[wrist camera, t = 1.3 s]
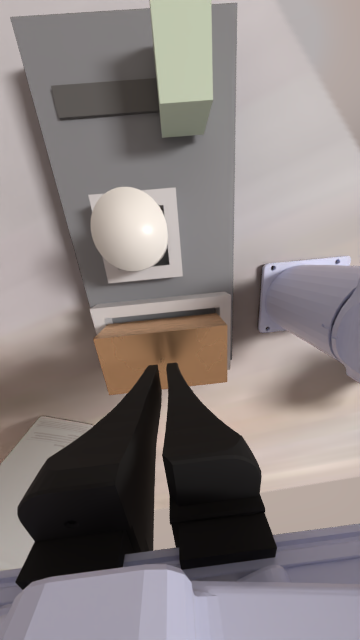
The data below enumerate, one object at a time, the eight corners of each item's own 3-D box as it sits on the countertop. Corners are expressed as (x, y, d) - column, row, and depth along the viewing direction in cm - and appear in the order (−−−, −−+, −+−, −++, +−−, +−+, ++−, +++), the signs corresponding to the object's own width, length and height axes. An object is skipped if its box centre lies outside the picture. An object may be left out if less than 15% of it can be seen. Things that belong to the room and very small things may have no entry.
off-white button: (164, 201, 12) (162, 183, 9) (170, 266, 14) (171, 267, 11) (102, 206, 12) (81, 190, 9) (115, 271, 13) (101, 274, 11)
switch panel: (224, 49, 13) (249, -47, 9) (225, 348, 22) (237, 369, 18) (39, 62, 13) (-22, -31, 9) (115, 360, 21) (102, 384, 17)
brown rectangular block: (216, 312, 15) (227, 325, 12) (217, 361, 17) (227, 382, 14) (107, 324, 15) (93, 339, 12) (119, 372, 16) (109, 395, 14)
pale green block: (200, 29, 11) (210, -49, 8) (203, 134, 12) (213, 99, 10) (152, 32, 10) (145, -45, 8) (162, 137, 12) (159, 103, 9)
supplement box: (39, 414, 24) (-94, 570, 12) (94, 423, 25) (24, 576, 13) (37, 449, 26) (-78, 612, 14) (87, 457, 27) (21, 614, 15)
